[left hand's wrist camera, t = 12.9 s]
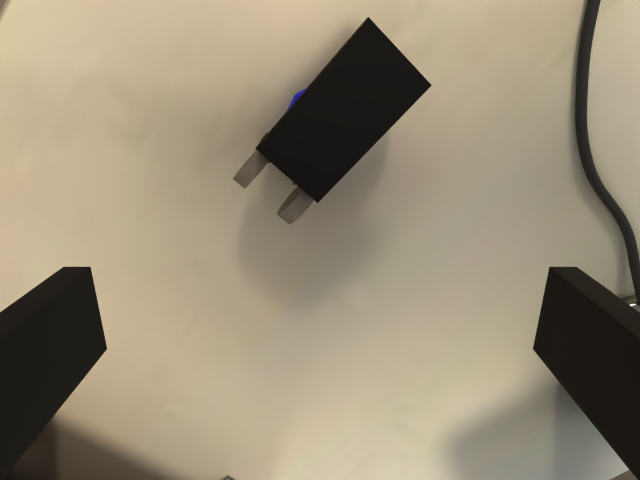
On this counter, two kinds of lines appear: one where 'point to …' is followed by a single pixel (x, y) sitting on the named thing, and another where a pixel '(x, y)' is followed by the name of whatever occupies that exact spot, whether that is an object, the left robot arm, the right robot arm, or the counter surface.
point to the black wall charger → (337, 118)
